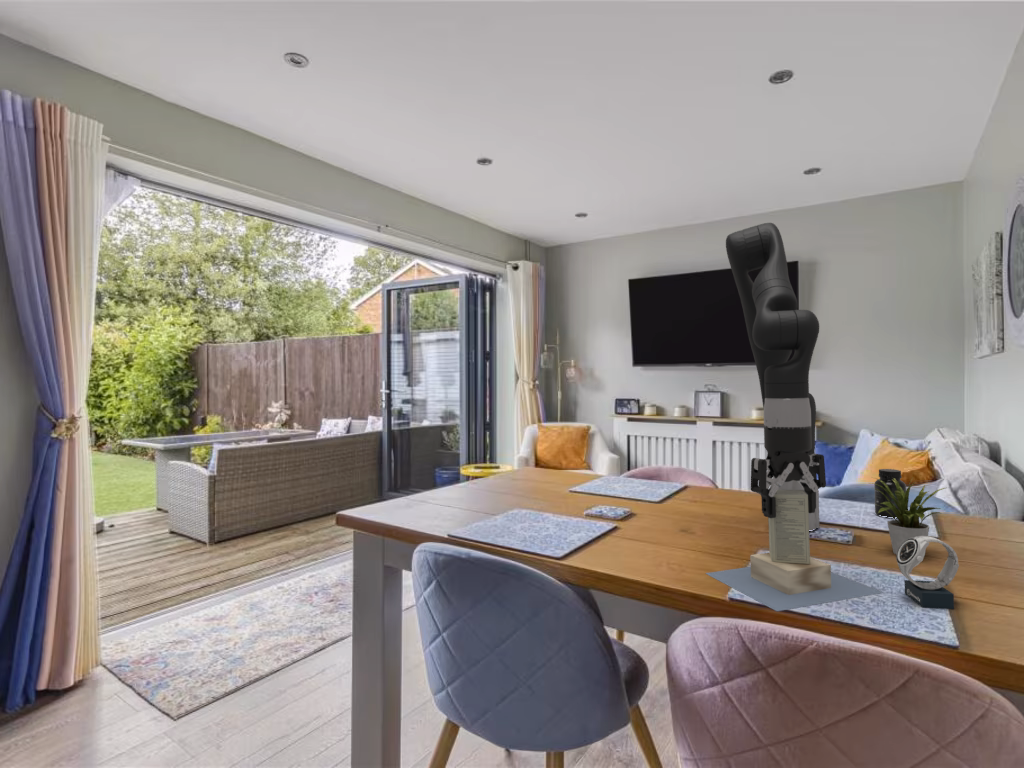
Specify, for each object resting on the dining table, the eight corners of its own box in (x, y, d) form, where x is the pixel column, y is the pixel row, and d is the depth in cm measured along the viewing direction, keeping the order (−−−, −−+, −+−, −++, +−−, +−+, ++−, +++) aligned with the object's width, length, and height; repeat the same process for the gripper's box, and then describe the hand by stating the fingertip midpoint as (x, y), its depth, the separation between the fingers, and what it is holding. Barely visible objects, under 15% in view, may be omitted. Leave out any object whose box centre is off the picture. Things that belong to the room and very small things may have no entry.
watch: (891, 598, 92) (890, 532, 92) (946, 600, 90) (945, 533, 90) (908, 612, 86) (907, 542, 86) (967, 615, 85) (966, 543, 85)
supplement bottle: (870, 512, 148) (869, 468, 148) (898, 513, 146) (898, 468, 146) (882, 518, 141) (881, 472, 141) (912, 519, 140) (911, 472, 140)
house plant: (845, 548, 118) (843, 472, 118) (886, 539, 124) (885, 467, 124) (916, 568, 105) (914, 483, 105) (959, 557, 110) (958, 476, 110)
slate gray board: (799, 563, 109) (799, 559, 109) (884, 597, 92) (884, 592, 92) (705, 577, 103) (705, 573, 103) (777, 616, 86) (777, 611, 86)
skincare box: (806, 557, 99) (805, 489, 98) (810, 565, 94) (809, 494, 94) (767, 554, 101) (766, 488, 101) (770, 562, 96) (769, 493, 96)
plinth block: (790, 570, 103) (790, 549, 103) (831, 587, 95) (830, 564, 95) (750, 576, 101) (750, 555, 101) (788, 594, 92) (788, 571, 92)
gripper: (802, 420, 103) (804, 506, 103) (738, 424, 99) (741, 514, 99) (836, 422, 96) (838, 515, 96) (769, 427, 92) (772, 524, 92)
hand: (789, 514), depth 97 cm, fingers open, 8 cm apart
